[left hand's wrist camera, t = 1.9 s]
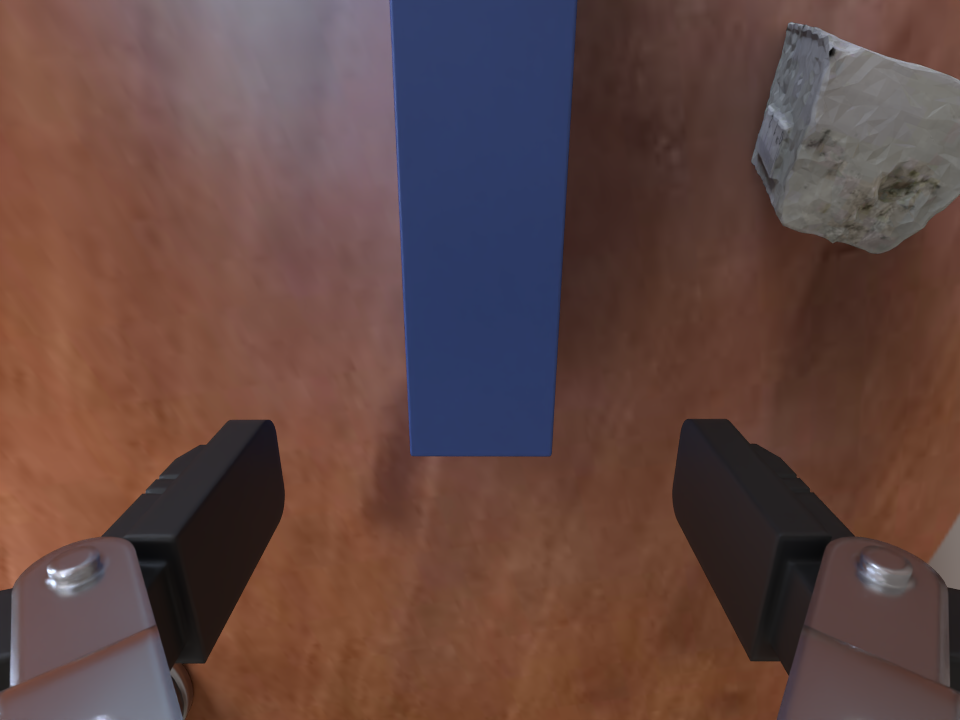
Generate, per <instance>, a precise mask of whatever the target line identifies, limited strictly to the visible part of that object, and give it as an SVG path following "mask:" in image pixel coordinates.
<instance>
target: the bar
mask: <svg viewBox="0 0 960 720" xmlns="http://www.w3.org/2000/svg"><path fill="white" fill-rule="evenodd" d="M576 14H577V0H390V19H391V41H392V63H393V85H394V106H395V128H396V150H397V172H398V194H399V216H400V237H401V259H402V281H403V303H404V325H405V347H406V368H407V390H408V412H409V434H410V454H411V456H551V454H552V440H553V422H554V405H555V387H556V369H557V351H558V334H559V316H560V298H561V281H562V263H563V245H564V227H565V210H566V192H567V174H568V156H569V139H570V121H571V103H572V85H573V68H574V50H575V32H576Z"/></svg>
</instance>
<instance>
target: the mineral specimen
mask: <svg viewBox="0 0 960 720" xmlns="http://www.w3.org/2000/svg"><path fill="white" fill-rule="evenodd" d="M755 146H756V147H755V150H754V153H753V157H752V160H751V162H752V164H753V165H755V170H757V173H758V175H760V177H761V179H762V181H763V184H764V186H765V187H766V192H767V193H768V194H769V197H770V199H771V204H772V205H773V207H774V209H775V212H776V215H777V216H778V218H779V220H780V222H781V223H782V225H783V226H785V227H788V228H790V229H793V230H796V231H798V232H801V233H809V234H815V235H818V236H820V237H823V238H826V239H827V240H829V241H830V242H832V243H834V242H837V241H838V242H842V243H847V244H849V245H852V246H855V247H858V248H860V249H863V250H866V251H867V252H869V253H874V254H879V253H883V252H886V251H889V250H891V249H893V248H894V247H896V246H897V245H899V244H900V243H901V242H902V241H903V240H905V239H907V238H908V237H910V236H912V235H913V234H915V233H917V232H918V231H920V230H921V229H922V228H924V227H925V225H926V224H927V222H928V221H929V220H930V219H931V218H932V217H933V216H934V215H935V214H937V213H939V212H941V211H942V210H944V209H945V208H946V207H947V206H948V205H949V204H950V203H951V202H952V201H953V200H954V199H955V198H957V197H958V196H959V195H960V80H958V79H956V78H954V77H952V76H950V75H947V74H944V73H941V72H938V71H935V70H933V69H930V68H927V67H924V66H922V65H918V64H913V63H908V62H904V61H901V60H897V59H894V58H890V57H887V56H884V55H881V54H878V53H876V52H873V51H870V50H868V49H865V48H863V47H860V46H857V45H855V44H852V43H850V42H847V41H844V40H842V39H839V38H837V37H836V36H834V35H832V34H829V33H827V32H825V31H823V30H821V29H819V28H817V27H810V26H808V25H802V24H797V23H792V22H790V23H788V27H787V30H786V38H785V42H784V46H783V51H782V55H781V59H780V61H779V64H778V67H777V70H776V73H775V78H774V81H773V84H772V87H771V90H770V97H769V100H768V102H767V108H766V110H765V113H764V120H763V123H762V126H761V129H760V132H759V134H758V139H757V142H756V145H755Z"/></svg>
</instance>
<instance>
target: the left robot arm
mask: <svg viewBox="0 0 960 720" xmlns="http://www.w3.org/2000/svg"><path fill="white" fill-rule="evenodd" d="M672 498H673V507H674V512H675V516H676V519H677V521H678V523H679V525H680V527H681V529H682V530H683V532H684V534H685V536H686V538H687V540H688V542H689V544H690V546H691V548H692V550H693V552H694V553H695V555H696V557H697V559H698V561H699V563H700V565H701V567H702V569H703V571H704V573H705V575H706V577H707V578H708V580H709V582H710V584H711V586H712V588H713V590H714V592H715V594H716V596H717V598H718V600H719V601H720V603H721V605H722V607H723V609H724V611H725V613H726V615H727V617H728V619H729V621H730V623H731V624H732V626H733V628H734V630H735V632H736V634H737V636H738V638H739V640H740V642H741V644H742V646H743V647H744V649H745V651H746V653H747V655H748V657H749V659H750V661H781V663H782V665H783V667H784V668H785V670H786V672H787V674H788V675H789V678H788V681H787V685H786V688H785V692H784V696H783V699H782V703H781V706H780V710H779V713H778V717H777V720H960V590H957V589H953V588H948V587H947V586H946V584H945V582H944V580H943V579H942V578H941V577H940V575H939V574H938V573H937V572H936V571H935V570H934V569H933V568H932V567H930V566H929V565H928V564H927V563H925V562H924V561H922V560H921V559H919V558H918V557H916V556H915V555H913V554H911V553H909V552H907V551H905V550H903V549H901V548H899V547H896V546H894V545H891V544H888V543H885V542H882V541H879V540H874V539H870V538H863V537H855V536H854V535H853V534H852V533H851V532H850V531H849V529H848V528H847V527H846V526H845V525H844V524H843V523H842V522H841V521H840V520H839V519H838V518H837V517H836V516H835V515H834V514H833V513H832V512H831V511H830V510H829V508H828V507H827V506H826V505H825V504H824V503H823V502H822V501H821V500H820V499H819V498H818V497H817V496H816V495H815V494H814V493H813V492H810V488H809V487H808V486H807V485H806V484H805V483H804V482H803V481H802V480H801V479H800V478H797V477H796V474H795V473H794V472H793V471H792V470H791V468H790V467H789V466H788V465H787V464H786V463H785V462H784V461H783V460H782V459H781V458H780V457H778V456H776V455H774V454H773V453H771V452H769V451H768V450H766V449H764V448H762V447H761V446H759V445H757V444H750V443H749V442H748V441H747V440H746V439H745V438H744V437H743V436H742V434H741V433H740V432H739V431H738V430H737V429H736V428H735V427H734V426H733V424H732V423H731V422H730V421H729V420H727V419H687V420H685V421H684V423H683V425H682V428H681V434H680V440H679V447H678V454H677V461H676V468H675V475H674V482H673V490H672ZM284 500H285V490H284V483H283V476H282V469H281V462H280V455H279V449H278V442H277V435H276V430H275V426H274V424H273V423H272V421H270V420H229V421H228V422H227V423H226V424H225V425H224V426H223V427H222V428H221V429H220V430H219V431H218V433H217V434H216V435H215V436H214V437H213V438H212V439H211V440H210V441H209V443H208V444H207V445H199V446H197V447H196V448H194V449H192V450H191V451H189V452H187V453H185V454H184V455H182V456H180V457H179V458H177V459H175V460H174V461H173V462H172V463H171V465H170V466H169V467H168V468H167V469H166V470H165V471H164V472H163V473H162V474H161V475H160V478H159V479H156V480H155V481H154V482H153V483H152V484H151V485H150V486H149V487H148V488H147V490H146V494H142V495H141V496H140V497H139V498H138V499H137V500H136V501H135V502H134V503H133V504H132V505H131V506H130V507H129V508H128V509H127V510H126V511H125V512H124V513H123V515H122V516H121V517H120V518H119V519H118V520H117V521H116V522H115V523H114V524H113V525H112V526H111V527H110V528H109V529H108V530H107V531H106V532H105V533H104V534H103V535H102V536H101V537H97V538H90V539H86V540H82V541H78V542H75V543H72V544H69V545H66V546H64V547H61V548H59V549H57V550H55V551H53V552H51V553H49V554H47V555H45V556H44V557H42V558H41V559H39V560H38V561H36V562H35V563H33V564H32V565H31V566H30V567H28V568H27V569H26V570H25V571H24V572H23V573H22V574H21V575H20V576H19V578H18V579H17V580H16V582H15V584H14V586H13V588H11V589H7V590H2V591H0V720H185V718H186V716H187V714H188V712H189V710H190V708H191V705H192V701H193V687H192V682H191V679H190V677H189V674H188V672H187V670H186V669H185V667H184V666H183V664H182V663H205V662H206V660H207V658H208V657H209V655H210V653H211V651H212V649H213V647H214V645H215V643H216V641H217V639H218V638H219V636H220V634H221V632H222V630H223V628H224V626H225V624H226V622H227V621H228V619H229V617H230V615H231V613H232V611H233V609H234V607H235V605H236V603H237V602H238V600H239V598H240V596H241V594H242V592H243V590H244V588H245V586H246V584H247V583H248V581H249V579H250V577H251V575H252V573H253V571H254V569H255V567H256V566H257V564H258V562H259V560H260V558H261V556H262V554H263V552H264V550H265V548H266V547H267V545H268V543H269V541H270V539H271V537H272V535H273V533H274V531H275V530H276V528H277V526H278V524H279V522H280V520H281V517H282V513H283V508H284Z"/></svg>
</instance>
